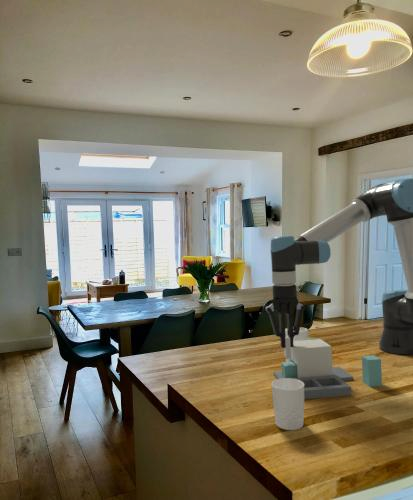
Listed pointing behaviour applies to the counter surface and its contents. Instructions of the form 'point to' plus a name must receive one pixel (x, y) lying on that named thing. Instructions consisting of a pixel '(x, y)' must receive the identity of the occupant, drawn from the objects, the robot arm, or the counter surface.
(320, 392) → the socket board
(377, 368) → the peg
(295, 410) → the white cup
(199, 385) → the counter surface
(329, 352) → the cover
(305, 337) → the mug
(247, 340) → the counter surface
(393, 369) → the counter surface
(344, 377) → the board
